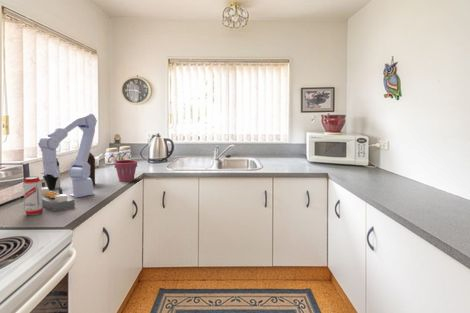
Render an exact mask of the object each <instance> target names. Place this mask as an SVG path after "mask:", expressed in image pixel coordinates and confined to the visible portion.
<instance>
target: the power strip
mask: <svg viewBox="0 0 470 313" xmlns="http://www.w3.org/2000/svg"><path fill="white" fill-rule="evenodd" d="M50 192H54V193H57V194H59V192H55V191H54V190H51V191H50ZM60 195H61V194H60ZM42 206H43V208H46V209H48V210H49V211H52V212H54V213H55V212H59V211H63V210H68V209H72V208H76V207H75V206H76V205H75V199H73V198H71V197H68V196H67V201H63V202H56V201H55V198H50V197H47V195H45V196H44V194H42Z"/></svg>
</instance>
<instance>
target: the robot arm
mask: <svg viewBox="0 0 470 313" xmlns="http://www.w3.org/2000/svg"><path fill="white" fill-rule="evenodd" d="M97 122H98V121H97V117H96V116H95V115H94V114H93V113H79V112H78V113H75V114H74V115H72V117H71V119H70V120H69V121H68V122H67V123H66V124H64V125H63V126H62V127H59V126H58V127H55V128H54V130H53V131H52V132H50V133H47V135H46V136H42V137H41V138H40V139H39V141H38V142H37V144H38V147H39V148H40V151H41V154H42V155H41V156H42V170H41V171H40V174H42V175H43V176H42V177H43V180H44V179H45V181H46V183H47V186H48V189H49V190H50V191H55V190H56V189H55V186H56V182H57V179H58V178H59V173H58V170H57V157H58V156H57V149H58V148H59V146H60V143H61V142H62V141H64V140H65V139H66V138H67V137H68V135H69V132H71V131H73V130H74V129H76V127H78V128H79V129H80V130H81V131H82V136H81V139H80V144H79V148H78V152H77V155H76V157H77V159H76V158H75V160H74V161H72V162H71V163H70V164H71V165H70V167H69V168H68V170H67V174H68V177H70V180H71V187H72V193H70V194H69V196H71V197H74V198H81V197H86V196H92V195H95V193H94V185H93V182H92V179H91V178H88V177H89V176H90V167H91V166H90V165H89V164H88V163H87V161H88V157H89V153H91V149H92V145H93V141H94V137H95V133H96V132H95V131H96V126H97ZM44 174H47V175H46V176H44Z"/></svg>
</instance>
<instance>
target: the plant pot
mask: <svg viewBox="0 0 470 313" xmlns="http://www.w3.org/2000/svg"><path fill="white" fill-rule="evenodd" d="M113 165H114V168H115V169H116V170H115V171H116V173H117V174H116V175H117V177H118V181H119V182H122V183H123V182H124V183H125V182H126V183H128V182H133V181H134V179H135V174H136V169H137V167H138V161H137V160H135V159H121V160H120V159H119V160H115V161H114V164H113Z"/></svg>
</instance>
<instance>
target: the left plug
mask: <svg viewBox="0 0 470 313" xmlns="http://www.w3.org/2000/svg"><path fill="white" fill-rule="evenodd" d="M41 192H42V194H44V193H48V192H50V190H49V189H48V188H47V187H45V182H44V181H42V182H41Z"/></svg>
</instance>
